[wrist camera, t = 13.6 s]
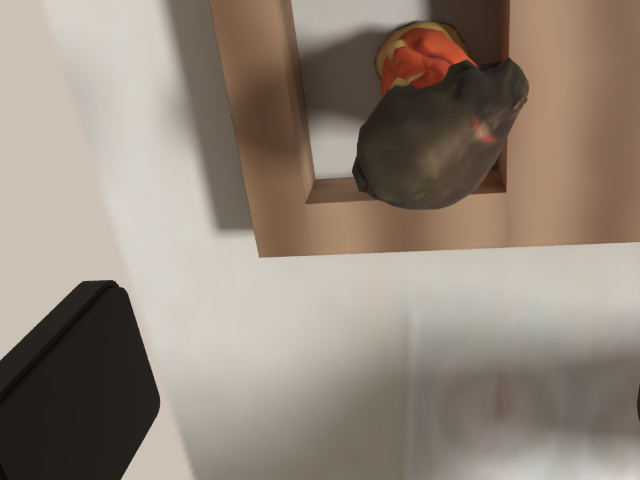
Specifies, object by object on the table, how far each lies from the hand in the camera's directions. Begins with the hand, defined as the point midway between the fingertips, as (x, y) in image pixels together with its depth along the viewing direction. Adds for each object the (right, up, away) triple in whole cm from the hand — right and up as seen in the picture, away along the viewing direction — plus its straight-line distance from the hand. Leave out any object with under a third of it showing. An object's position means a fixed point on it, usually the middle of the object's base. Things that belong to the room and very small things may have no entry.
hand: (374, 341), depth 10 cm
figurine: (+5, +10, +19) cm, 22 cm away
